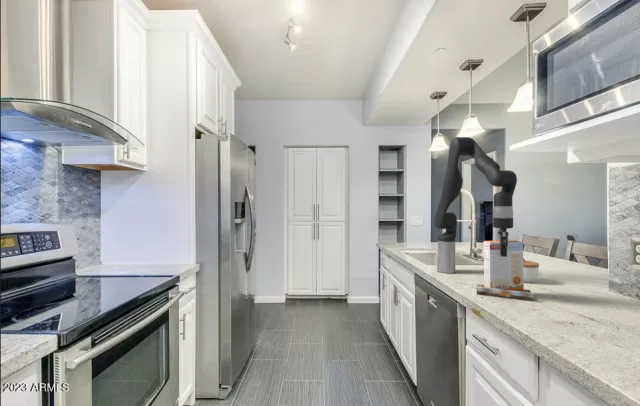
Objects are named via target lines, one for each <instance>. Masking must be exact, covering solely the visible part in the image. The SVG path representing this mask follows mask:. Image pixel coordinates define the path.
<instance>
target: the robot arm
mask: <svg viewBox="0 0 640 406" xmlns="http://www.w3.org/2000/svg"><path fill="white" fill-rule="evenodd" d="M479 145H480V144H478V142H476V141H475V140H474V139H473V138H472V137H466V136H465V137H464V136H463V137H462V136H461V137H459V136H457V137H456V136H455V137H454V138H453V139H451V141H450V144H449V147H448V148H449V149H448V159H447V165H446V172H445V176H444V180H443V182H442V183H443V184H442V188H441V195H440V199H439V202H438V205H437V209H436V212H435V215H434V222H433V223H434V227H435V228H436V229H439V230H445V231H444V232H443V233H442V234H438V236H437V254H436V272H439V273H444V274H454V273H456V237H457V231H458V229H457V228H458V227H457V226H458V218H457V216H456V215H457V214H455V213H454V212H447V211H448V209H449V207H450V206H451V205H452V203H454V201H455V200H456V199H457V198H458V197H459V195H460V194H461V192H462V186H463V182H464V181H463V180H464V179H463V177H462V173H461V171H460V169H459V161H460V156H466V157H467V156H468V157H470V158H473V160H474V166H475V167H476V168H477V169H478V171H480V172H481V174H483V175H484V176H485V178H486V180H487V181H488V182H487V183H489V184H490V185H492V186H493V187H498V188H499V187H501V190H500V191H499V192H495V193H494V194H493V209H492V227H493V228H494V229H498V231H497V241H499V242H500V247H501V256H504V257H506V256H507V248H506V247H508V241H509V237H510V235H509V234H510V233H509V232H508V231H507V229H513V228H514V208H513V196H514V193H515V189H516V186H517V183H518V177H517V174H516V173H515V171H513V170H505V169H504V170H501V167H500V165H499V163H497V162H496V160H494V159H493V158H491V157H490V156H489V155H488V154H486V152H485V151H484V150H483V149H482V147H481V146H479ZM502 242H503V243H502ZM505 243H506V244H505Z"/></svg>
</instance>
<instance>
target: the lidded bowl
mask: <svg viewBox="0 0 640 406" xmlns="http://www.w3.org/2000/svg"><path fill="white" fill-rule="evenodd" d="M539 268H540V263H538V262H536V261H530V260H526V259H525V258H524V257H523V279H524V283H529V284H530V283H533V281H535V280H536V279H537V278H538V276H539V271H540V269H539Z"/></svg>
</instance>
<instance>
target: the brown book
mask: <svg viewBox="0 0 640 406" xmlns="http://www.w3.org/2000/svg"><path fill="white" fill-rule="evenodd" d="M476 295H478V296H479V295H480V296H487V297H488V296H489V297H496V298H501V299H502V298H503V299H511V300H520V301H528V302H534V301H535V300H534V297H535V294H534V292H532V291H531V290H530V289H526V288H524V291H511V290H502V289H493V288H484V284H480V283H479V284H477V283H476Z"/></svg>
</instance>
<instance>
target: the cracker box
mask: <svg viewBox="0 0 640 406" xmlns="http://www.w3.org/2000/svg"><path fill="white" fill-rule="evenodd" d="M502 243H503V242H502ZM505 244H506V243H505ZM506 248H507V256H506V257H504V256H501V247H500V242H499V241H498V240H484V241H483V285H484V288H493V289H502V290H511V291H524V289H525V288H524V287H525V286H524V285H525V282H524V279H523V258H524V242H523V241H519V240H508V247H506Z"/></svg>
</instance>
